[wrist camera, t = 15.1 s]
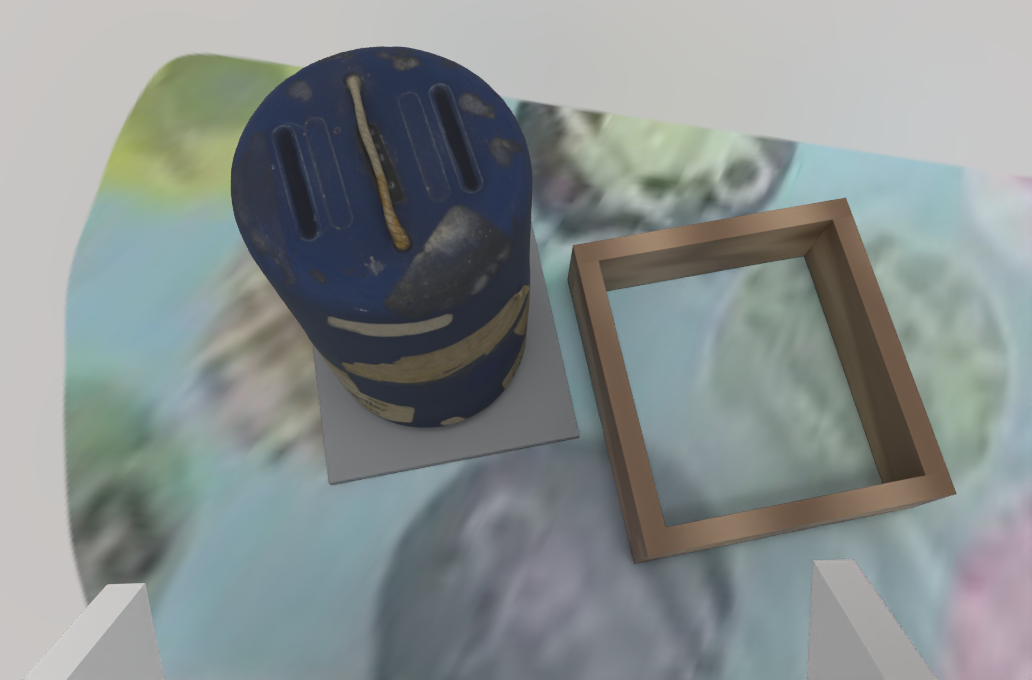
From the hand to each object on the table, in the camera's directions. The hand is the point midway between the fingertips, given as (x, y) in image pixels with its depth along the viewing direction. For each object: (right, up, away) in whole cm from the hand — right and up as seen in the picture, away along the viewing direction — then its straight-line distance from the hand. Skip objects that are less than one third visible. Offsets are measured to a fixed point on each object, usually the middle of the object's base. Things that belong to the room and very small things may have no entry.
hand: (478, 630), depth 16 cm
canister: (-3, +5, +25) cm, 25 cm away
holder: (+11, +3, +24) cm, 27 cm away
